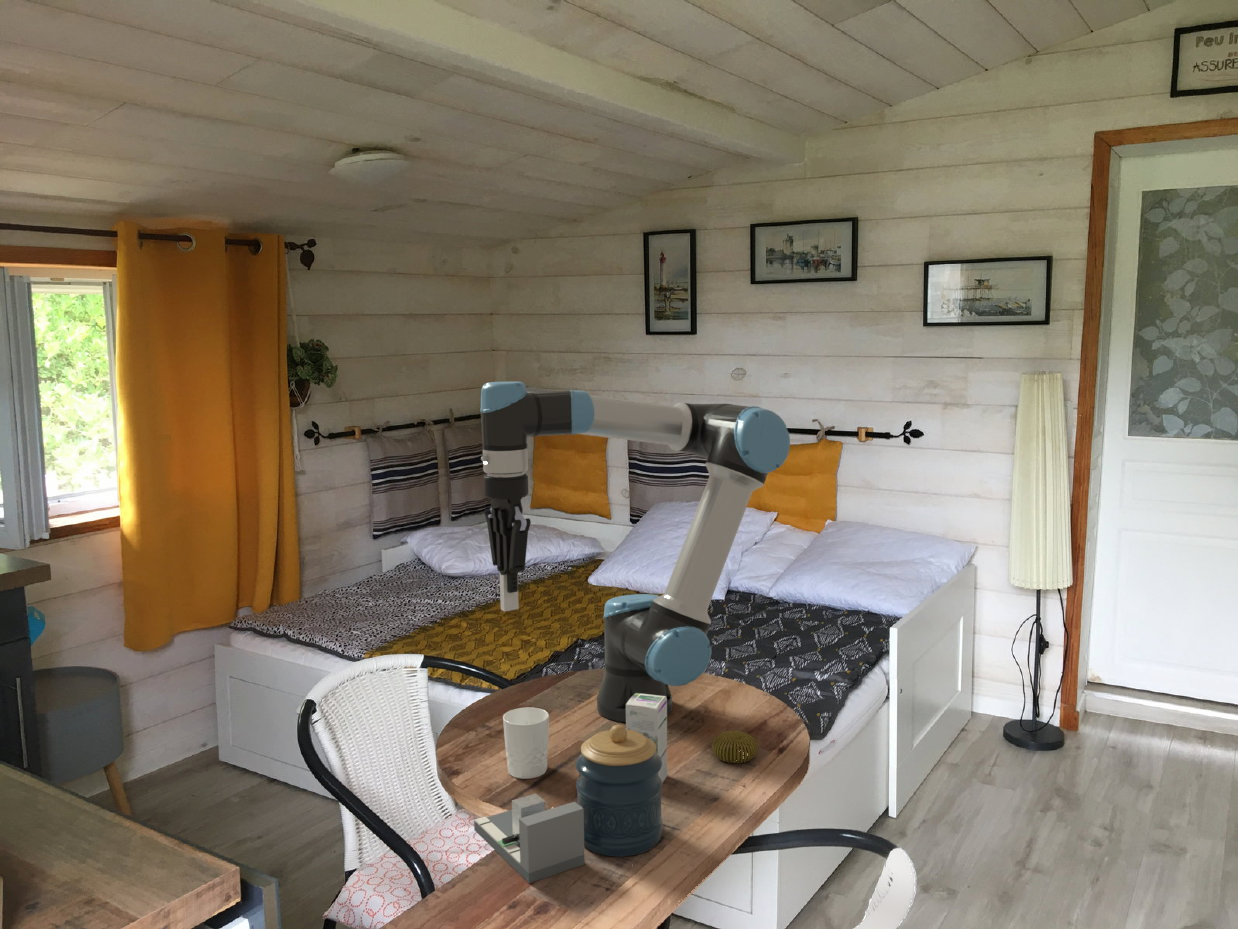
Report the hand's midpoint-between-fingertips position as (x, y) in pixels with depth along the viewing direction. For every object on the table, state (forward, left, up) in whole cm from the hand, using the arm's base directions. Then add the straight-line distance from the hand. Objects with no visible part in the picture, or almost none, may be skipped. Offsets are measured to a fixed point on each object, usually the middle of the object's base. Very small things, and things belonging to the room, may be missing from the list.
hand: (509, 609), depth 175 cm
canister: (-2, +31, -29) cm, 42 cm away
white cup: (-1, +3, -29) cm, 29 cm away
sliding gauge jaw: (+12, +27, -27) cm, 40 cm away
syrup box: (-16, +18, -29) cm, 37 cm away
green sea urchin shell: (-34, +19, -29) cm, 49 cm away
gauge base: (+11, +26, -28) cm, 40 cm away
